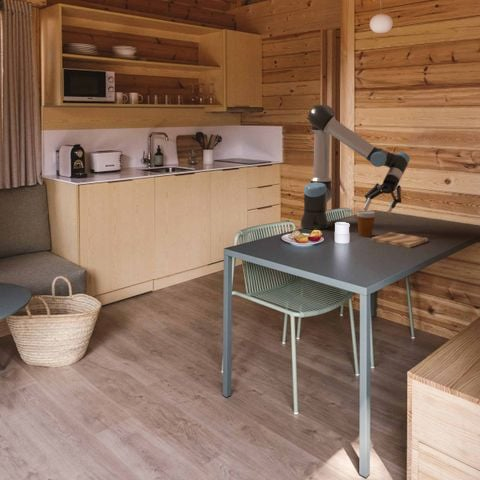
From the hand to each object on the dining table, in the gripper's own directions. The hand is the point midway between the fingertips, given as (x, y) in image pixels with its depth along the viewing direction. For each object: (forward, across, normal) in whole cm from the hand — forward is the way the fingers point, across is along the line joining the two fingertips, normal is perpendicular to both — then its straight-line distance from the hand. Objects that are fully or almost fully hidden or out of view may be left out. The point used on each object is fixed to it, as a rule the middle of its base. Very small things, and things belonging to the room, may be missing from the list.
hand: (376, 210), depth 282 cm
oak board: (+14, -18, -3) cm, 23 cm away
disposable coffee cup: (+14, +1, -3) cm, 14 cm away
